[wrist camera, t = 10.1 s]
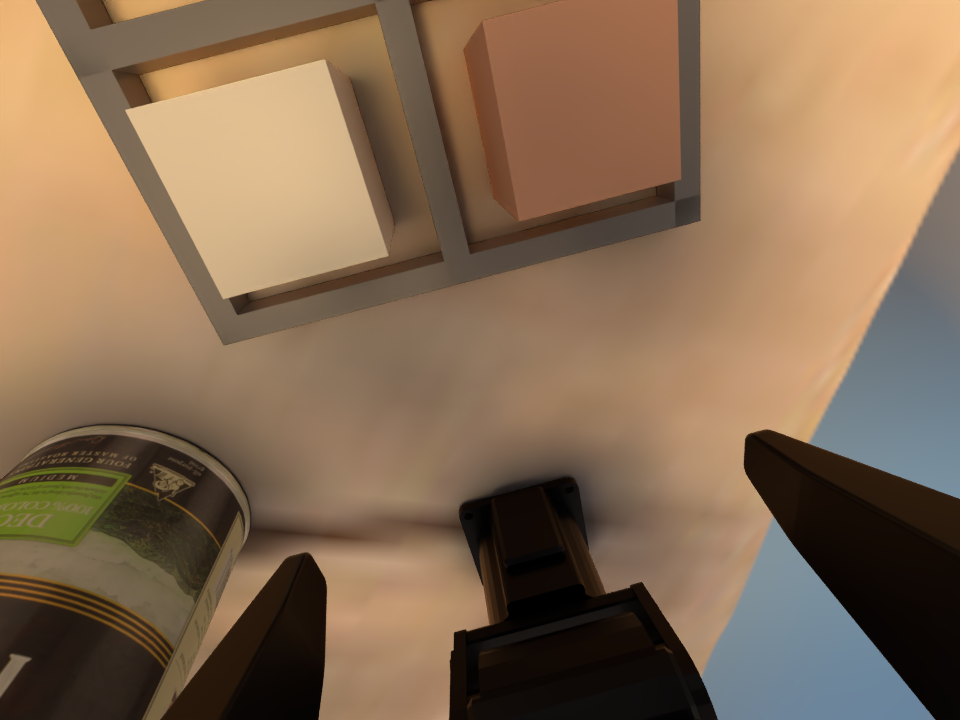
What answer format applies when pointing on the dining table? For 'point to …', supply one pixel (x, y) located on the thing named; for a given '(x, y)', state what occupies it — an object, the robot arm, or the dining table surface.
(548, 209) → the terracotta block
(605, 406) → the dining table surface
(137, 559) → the coffee can
